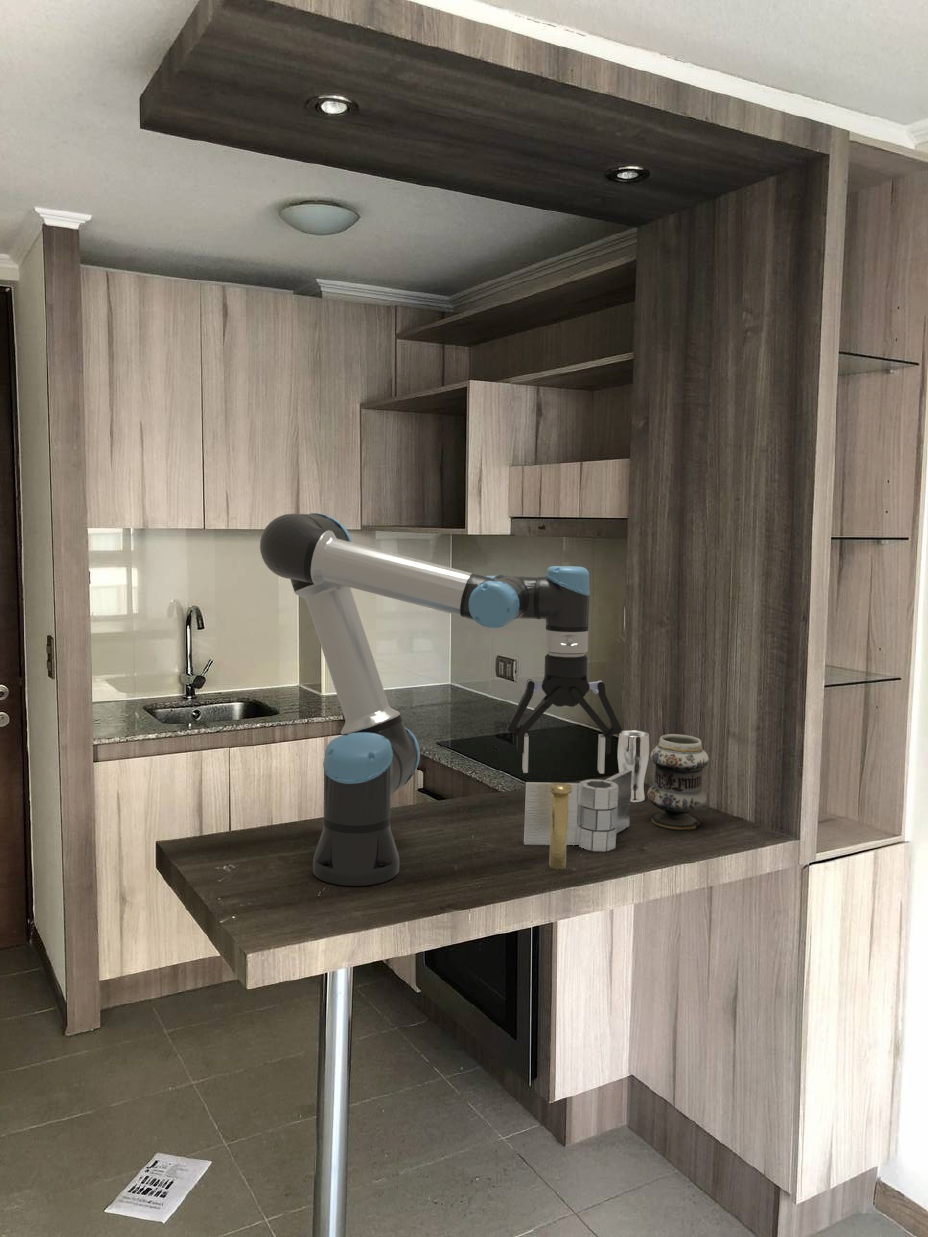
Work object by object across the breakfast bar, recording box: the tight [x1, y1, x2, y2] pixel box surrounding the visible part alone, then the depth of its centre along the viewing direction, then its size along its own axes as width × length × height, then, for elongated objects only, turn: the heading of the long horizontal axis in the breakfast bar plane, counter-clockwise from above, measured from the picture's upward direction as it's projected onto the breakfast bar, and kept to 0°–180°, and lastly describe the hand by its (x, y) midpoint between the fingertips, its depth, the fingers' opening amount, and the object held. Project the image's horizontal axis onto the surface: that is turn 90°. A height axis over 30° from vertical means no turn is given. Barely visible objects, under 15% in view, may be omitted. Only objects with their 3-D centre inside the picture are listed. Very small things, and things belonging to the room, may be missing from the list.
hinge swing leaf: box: [577, 769, 632, 835], centre depth 193 cm, size 18×7×12 cm, turn 146°
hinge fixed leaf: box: [523, 778, 618, 852], centre depth 189 cm, size 18×7×12 cm, turn 91°
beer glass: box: [617, 729, 650, 803], centre depth 221 cm, size 7×7×15 cm
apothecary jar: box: [646, 733, 709, 831], centre depth 204 cm, size 12×12×18 cm
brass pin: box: [548, 782, 572, 870], centre depth 177 cm, size 4×4×15 cm
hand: (562, 771), depth 176 cm, fingers open, 13 cm apart
